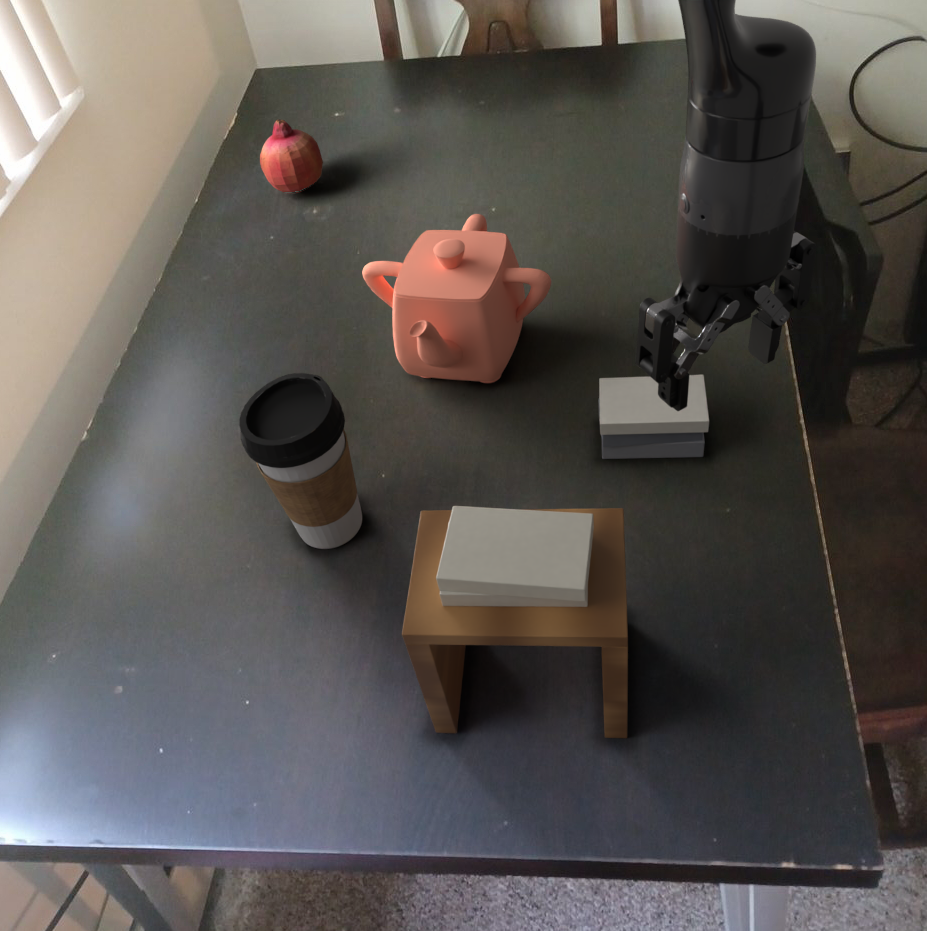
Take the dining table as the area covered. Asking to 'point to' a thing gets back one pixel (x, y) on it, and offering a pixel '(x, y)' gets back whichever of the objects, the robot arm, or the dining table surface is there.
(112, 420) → the dining table surface
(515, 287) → the teapot
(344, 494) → the coffee cup
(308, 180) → the fruit
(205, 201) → the dining table surface
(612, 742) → the dining table surface
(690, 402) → the white book
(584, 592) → the white books
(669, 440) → the grey books
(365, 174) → the dining table surface
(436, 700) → the shelf
